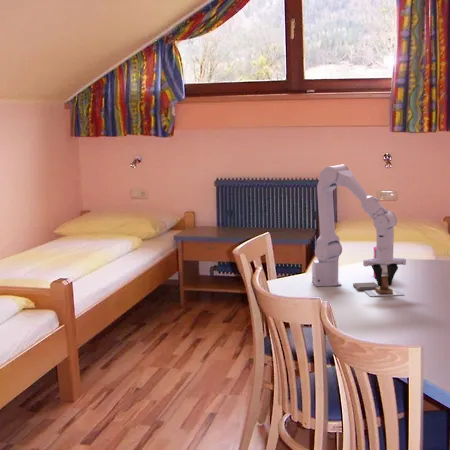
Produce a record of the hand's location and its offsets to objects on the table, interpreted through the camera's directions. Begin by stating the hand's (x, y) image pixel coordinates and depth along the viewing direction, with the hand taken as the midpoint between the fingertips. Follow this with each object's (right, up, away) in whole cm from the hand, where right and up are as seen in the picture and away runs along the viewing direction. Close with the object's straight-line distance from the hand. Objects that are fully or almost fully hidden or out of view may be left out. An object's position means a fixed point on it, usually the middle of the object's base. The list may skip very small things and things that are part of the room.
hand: (384, 285), depth 241 cm
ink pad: (-5, -2, +8) cm, 9 cm away
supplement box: (+4, +1, +23) cm, 23 cm away
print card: (0, -3, +1) cm, 3 cm away
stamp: (0, -3, +1) cm, 3 cm away
